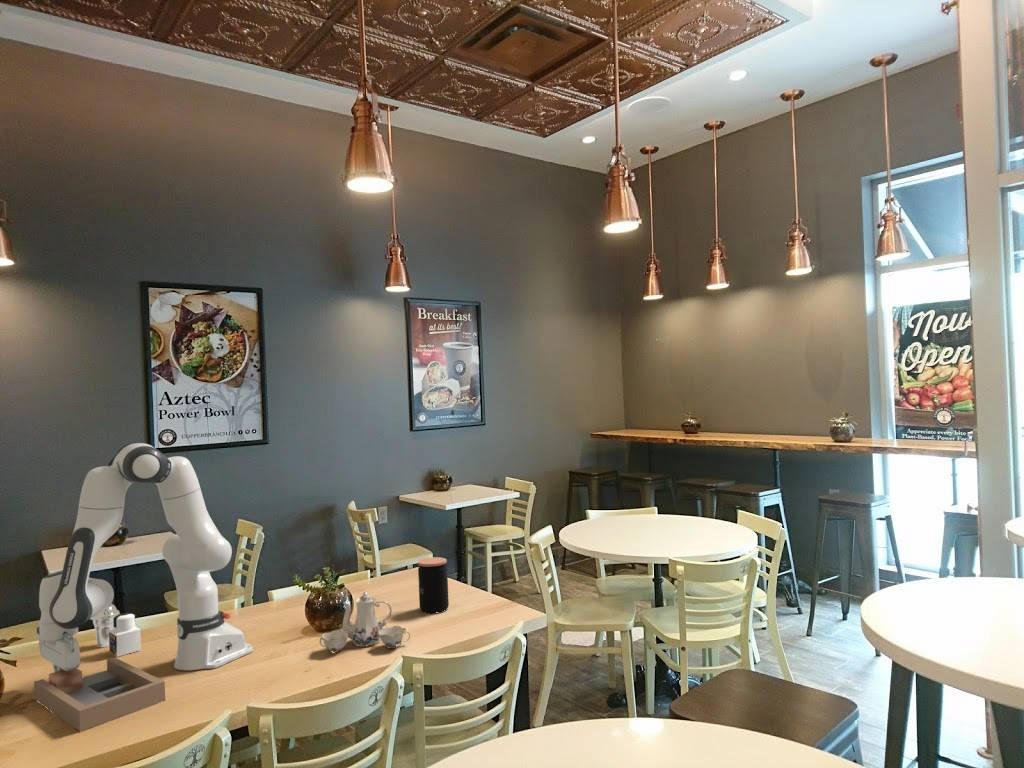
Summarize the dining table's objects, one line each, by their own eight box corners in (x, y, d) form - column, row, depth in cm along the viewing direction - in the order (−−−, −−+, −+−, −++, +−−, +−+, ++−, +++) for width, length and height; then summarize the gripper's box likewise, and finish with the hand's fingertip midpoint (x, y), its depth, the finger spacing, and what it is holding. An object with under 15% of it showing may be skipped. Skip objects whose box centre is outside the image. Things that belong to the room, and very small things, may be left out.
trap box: (114, 674, 195) (114, 657, 195) (165, 700, 176) (164, 681, 176) (34, 700, 179) (34, 681, 180) (80, 732, 160) (79, 711, 160)
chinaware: (317, 665, 200) (315, 611, 199) (322, 640, 216) (320, 590, 215) (411, 654, 205) (409, 602, 204) (409, 631, 222) (407, 582, 220)
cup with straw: (99, 651, 215) (98, 589, 216) (84, 647, 220) (82, 586, 220) (125, 642, 223) (124, 582, 223) (110, 639, 227) (109, 580, 228)
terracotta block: (74, 682, 185) (73, 666, 185) (82, 687, 181) (81, 671, 182) (49, 690, 180) (48, 674, 181) (57, 695, 177) (56, 678, 177)
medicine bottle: (109, 652, 214) (108, 615, 214) (133, 646, 219) (132, 609, 219) (116, 657, 209) (115, 619, 209) (141, 650, 214) (140, 613, 215)
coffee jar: (424, 605, 250) (422, 557, 251) (451, 605, 248) (449, 557, 249) (416, 614, 239) (414, 564, 240) (445, 614, 238) (442, 563, 238)
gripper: (86, 632, 181) (87, 683, 181) (59, 620, 194) (60, 667, 194) (59, 639, 176) (61, 692, 176) (33, 626, 189) (35, 675, 189)
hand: (60, 679), depth 185 cm, fingers closed
